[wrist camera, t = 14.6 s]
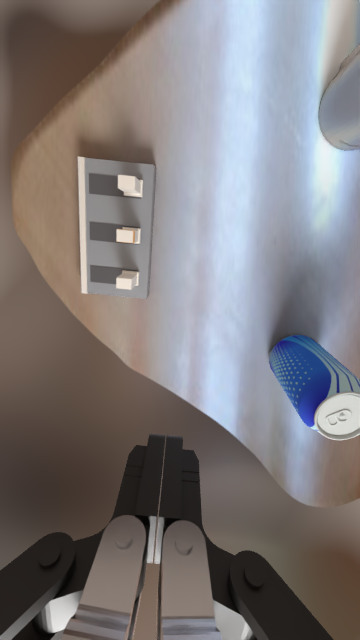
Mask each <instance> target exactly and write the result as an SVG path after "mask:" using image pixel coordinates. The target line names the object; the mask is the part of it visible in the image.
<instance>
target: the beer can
mask: <svg viewBox="0 0 360 640" xmlns="http://www.w3.org/2000/svg"><path fill="white" fill-rule="evenodd" d="M269 363H270V367H271V369H272V371H273V373H274V374H275V376H276V378H277V379H278V381H279V383H280V384H281V386H282V388H283V389H284V391H285V393H286V394H287V396H288V397H289V399H290V401H291V402H292V404H293V406H294V407H295V409H296V411H297V412H298V414H299V416H300V417H301V419H302V420H303V422H304V423H305V424H306V425H307V426H309V427H310V428H311V429H313V430H315V431H318V432H320V433H321V434H322V435H323V436H325V437H327V438H329V439H333V440H346V439H350V438H353V437H356V436H358V435H359V434H360V380H359V379H358V378H357V377H356V376H355V375H353V374H352V373H351V372H350V371H349V370H348V369H347V368H345V367H344V366H343V365H342V364H341V363H340V362H338V361H337V360H336V359H335V358H334V357H333V356H332V355H330V354H329V353H328V352H327V351H326V350H325V349H323V348H322V347H321V346H320V345H319V344H318V343H317V342H315V341H314V340H313V339H311V338H310V337H307V336H304V335H292V336H288V337H286V338H284V339H282V340H281V341H279V342H278V343H277V344H276V345H275V346H274V348H273V349H272V351H271V353H270V357H269Z"/></svg>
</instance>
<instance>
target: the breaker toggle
mask: <svg viewBox="0 0 360 640" xmlns="http://www.w3.org/2000/svg"><path fill="white" fill-rule="evenodd" d="M140 240H141V229H139V228H129V227H123V229H117V237H116V242H125V243H135V244H140Z"/></svg>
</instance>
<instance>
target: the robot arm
mask: <svg viewBox="0 0 360 640" xmlns="http://www.w3.org/2000/svg"><path fill="white" fill-rule="evenodd" d="M319 124H320V128H321V131H322V134H323V136H324V137H325V139H326V140H327V141H328V142H329V143H330V144H331V145H332V146H334V147H336V148H338V149H341V150H355V149H359V148H360V44H359V45H358V46H357V47H356V48H355V49H354V50H353V51H352V53H351V54H350V55H349V56H348V57H347V58H346V59H345V60H344V61H343V62H342V64H341V68H340V71H339V73H338V75H337V76H336V77H335V78H334V79H333V80H332V81H331V83H330V84H329V86H328V87H327V89H326V90H325V93H324V95H323V97H322V100H321V104H320V108H319ZM164 445H165V435H159V434H149V439H148V445H147V446H140V445H136V446H135V447H134V449H133V450H132V451H131V452H130V454H129V456H128V460H127V464H126V468H125V472H124V476H123V479H122V483H121V487H120V491H119V495H118V499H117V503H116V507H115V510H114V514H113V517H112V519H111V521H110V522H109V524H108V525H107V526H106V527H105V528H104V529H103V530H102V531H100V532H99V533H97V534H95V535H93V536H90V537H87V538H84V539H80V540H76V541H73V540H72V538H71V537H70V536H69V535H67V534H65V533H62V532H55V533H51V534H48V535H46V536H44V537H43V538H41V539H40V540H38V541H37V542H36V543H35V544H33V545H32V546H31V547H30V548H28V549H27V550H26V551H25V552H23V553H22V554H21V555H20V556H19V557H17V558H16V559H14V560H13V561H12V562H11V563H9V564H8V565H7V566H6V567H4V568H3V569H2V570H1V571H0V640H60V639H61V640H133V636H134V630H135V625H136V620H137V614H138V609H139V604H140V597H141V592H142V589H143V586H144V581H145V573H146V564H147V563H152V562H153V553H154V543H155V533H156V523H157V514H158V504H159V495H160V485H161V476H162V475H161V474H162V466H163V455H164ZM182 445H183V438H182V437H181V436H171V435H167V439H166V449H165V460H164V469H163V479H162V490H161V501H160V510H159V521H158V531H157V541H156V551H155V563H158V564H160V570H159V581H158V591H157V625H156V640H333V639H332V637H331V636H330V635H329V634H328V633H327V631H326V630H325V629H324V628H323V627H322V626H321V624H320V623H319V622H318V621H317V620H316V618H315V617H314V616H313V615H312V614H311V613H310V611H309V610H308V609H307V608H306V607H305V605H304V604H303V603H302V602H301V601H300V600H299V598H298V597H297V596H296V595H295V594H294V592H293V591H292V590H291V589H290V588H289V587H288V585H287V584H286V583H285V582H284V581H283V579H282V578H281V577H280V576H279V575H278V574H277V572H276V571H275V570H274V569H273V568H272V567H271V565H270V564H269V563H268V562H267V561H266V560H265V559H264V558H263V557H262V556H261V555H259V554H258V553H255V552H252V551H241V552H239V553H238V554H236V555H233V554H231V553H228V552H226V551H224V550H222V549H220V548H218V547H217V546H216V545H214V544H213V543H212V542H211V541H210V540H209V538H208V537H207V535H206V534H205V532H204V529H203V526H202V517H201V497H200V479H199V478H200V477H199V460H198V458H197V456H196V454H195V452H194V451H193V450H183V449H182Z"/></svg>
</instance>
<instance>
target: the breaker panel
mask: <svg viewBox="0 0 360 640" xmlns="http://www.w3.org/2000/svg"><path fill="white" fill-rule="evenodd" d="M77 165H78V201H79V237H80V273H81V293H86V294H87V293H91V294H102V295H112V296H122V297H132V298H142V299H147V298H148V296H149V287H150V269H151V252H152V234H153V217H154V200H155V182H156V167H155V165H152V164H142V163H132V162H122V161H112V160H102V159H92V158H85V157H77ZM123 227H129V228H139V229H141V240H140V244H135V243H125V242H116V237H117V229H123Z"/></svg>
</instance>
